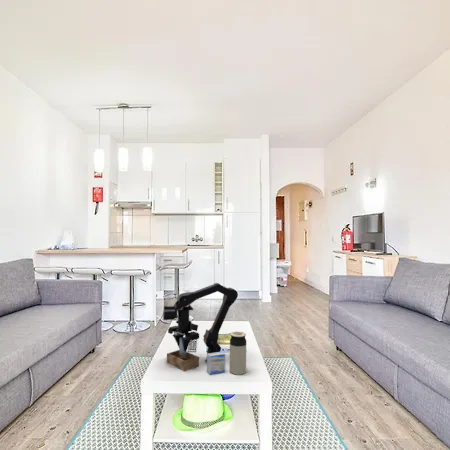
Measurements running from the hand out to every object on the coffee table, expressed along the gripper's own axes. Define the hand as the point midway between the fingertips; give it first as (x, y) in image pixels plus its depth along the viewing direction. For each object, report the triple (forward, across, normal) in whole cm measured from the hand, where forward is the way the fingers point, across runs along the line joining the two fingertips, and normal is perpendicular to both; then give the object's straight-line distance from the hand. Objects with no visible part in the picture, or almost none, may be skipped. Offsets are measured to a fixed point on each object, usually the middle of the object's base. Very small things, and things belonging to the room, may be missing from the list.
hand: (183, 350), depth 158 cm
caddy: (+7, 0, 0) cm, 7 cm away
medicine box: (+7, -18, -6) cm, 20 cm away
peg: (+2, 0, 0) cm, 2 cm away
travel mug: (+7, -25, -14) cm, 30 cm away
